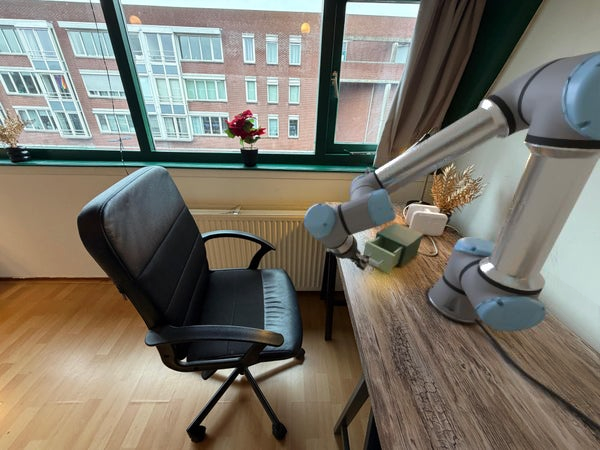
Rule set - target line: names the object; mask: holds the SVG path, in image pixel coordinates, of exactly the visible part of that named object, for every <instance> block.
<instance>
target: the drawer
mask: <svg viewBox="0 0 600 450" xmlns="http://www.w3.org/2000/svg"><path fill="white" fill-rule="evenodd" d="M375 238H376V237H375ZM375 238H374V239H372V240H371V241H366V242H365V244H364V248H363V254H364V255H368V256H369V257H370V258H369V263H368V264H370V265H372V266H374V267H375V268H378V269H380V270H381V271H383V272H385V273H387V274H389V275H390V273H391V272H392V269H393V268H394V267H396V265H397V264H398V263H399V262H400V260H401V257H402V254H403V251H404V248H405V247H402V246H400V245H398V244H396V243H394V242H392V241H389V240H387V239H385V238H383V237H381V236H379V237H377V238H376V239H375ZM363 254H362V255H363Z"/></svg>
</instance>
